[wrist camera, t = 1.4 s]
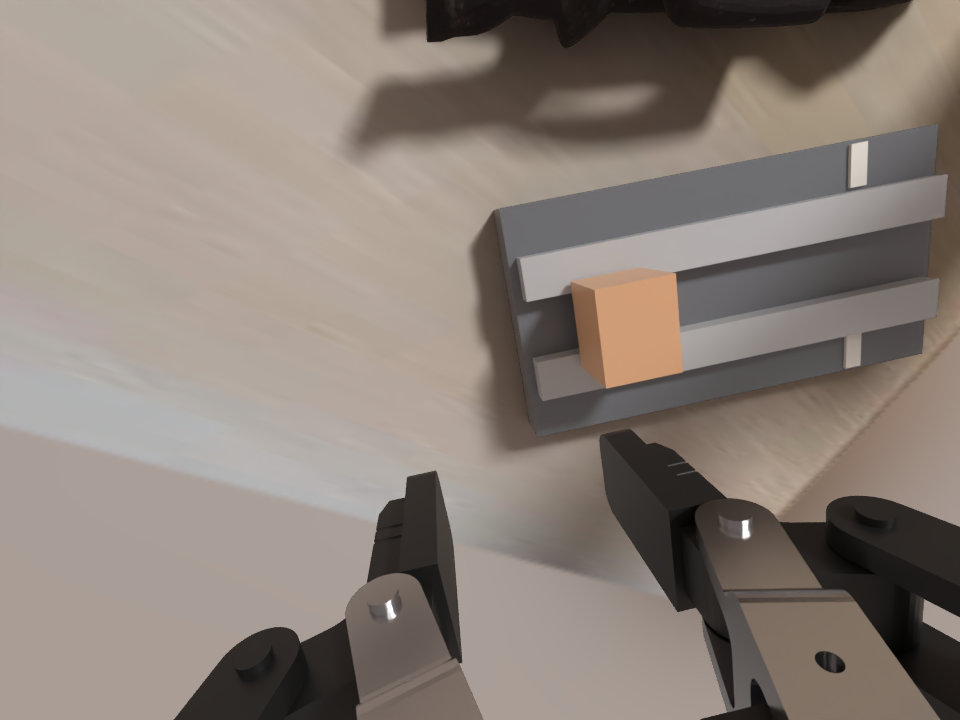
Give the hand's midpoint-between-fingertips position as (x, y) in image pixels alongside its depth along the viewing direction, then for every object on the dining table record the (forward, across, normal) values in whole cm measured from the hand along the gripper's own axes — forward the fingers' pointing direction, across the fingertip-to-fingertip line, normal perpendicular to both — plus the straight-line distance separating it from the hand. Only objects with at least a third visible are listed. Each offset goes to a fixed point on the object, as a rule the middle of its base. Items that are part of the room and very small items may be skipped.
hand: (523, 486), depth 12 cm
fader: (+16, -8, 0) cm, 18 cm away
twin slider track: (+19, -16, 0) cm, 25 cm away
